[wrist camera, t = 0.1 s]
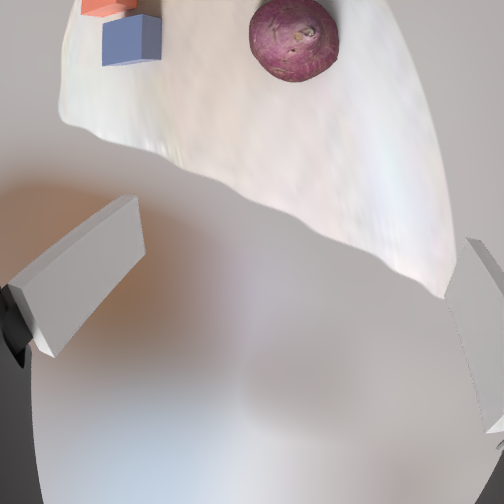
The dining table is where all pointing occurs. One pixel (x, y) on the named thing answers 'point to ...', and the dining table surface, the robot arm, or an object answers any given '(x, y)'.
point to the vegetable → (293, 39)
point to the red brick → (106, 7)
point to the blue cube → (131, 40)
